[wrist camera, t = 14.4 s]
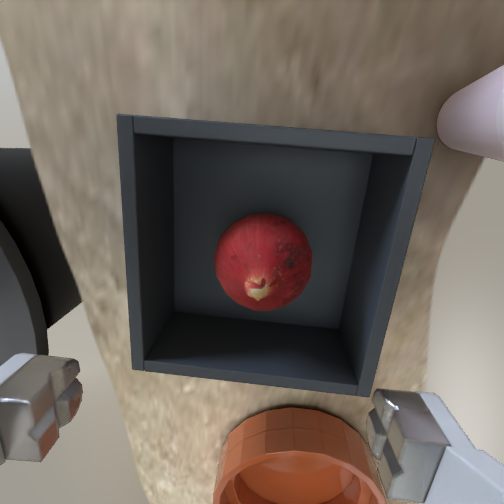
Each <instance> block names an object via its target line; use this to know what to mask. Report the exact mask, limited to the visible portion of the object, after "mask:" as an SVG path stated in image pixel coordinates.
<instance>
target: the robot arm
mask: <svg viewBox="0 0 504 504" xmlns="http://www.w3.org/2000/svg"><path fill="white" fill-rule="evenodd" d="M79 372H80V367H79V362H78V361H77V360H75V359H71V358H63V357H55V356H47V355H36V354H28V353H19V354H16V355H14V356H13V357H11V358H10V359H9V360H8V361H6V362H5V363H4V364H3V365H1V366H0V465H1V464H3V463H4V462H5V459H6V460H20V461H34V462H41V461H42V460H43V458H44V457H45V456H46V455H47V453H48V452H49V450H50V449H51V448H52V446H53V445H54V444H55V442H56V441H57V439H58V438H59V428H61V427H62V426H64V425H66V424H67V423H69V422H71V420H72V418H73V417H74V416H75V414H76V413H77V411H78V408H79V405H80V403H81V401H82V393H83V391H82V384H81V383H80V382H79V381H78V379H77V378H76V376H77V375H78V373H79ZM372 401H373V404H374V406H375V408H374V409H373V410H372V411H370V412H369V413H368V418H367V422H366V433H367V439H368V444H369V447H370V450H371V453H372V454H373V455H374V456H375V457H376V458H377V459H378V460H379V461H380V462H379V466H378V469H377V470H378V473H379V476H380V479H381V482H382V485H383V487H384V490H385V493H386V496H387V498H388V499H396V500H403V501H410V502H418V503H424V504H504V465H503V464H502V463H500V462H499V461H497V460H496V459H495V458H493V457H492V456H490V455H489V454H488V453H486V452H485V451H484V450H478V449H476V448H475V446H474V445H473V444H472V442H471V441H470V439H469V438H468V437H467V435H466V434H465V432H464V431H463V429H462V428H461V427H460V425H459V424H458V422H457V421H456V420H455V418H454V417H453V415H452V414H451V412H450V411H449V410H448V408H447V407H446V405H445V404H444V403H443V401H442V400H441V398H440V397H439V396H438V395H436V394H435V393H427V392H411V391H400V390H389V389H378V388H377V389H376V390H375V392H374V394H373V398H372Z"/></svg>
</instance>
